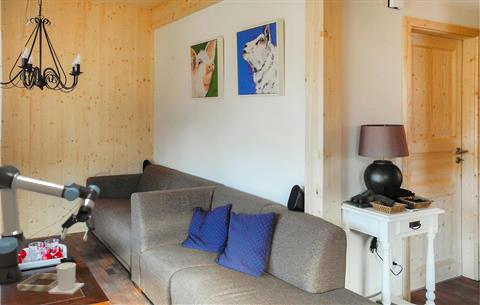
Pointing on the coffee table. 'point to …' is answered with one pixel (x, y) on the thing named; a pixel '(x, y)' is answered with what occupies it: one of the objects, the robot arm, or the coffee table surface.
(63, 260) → the controller
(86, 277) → the coffee table surface
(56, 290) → the coaster
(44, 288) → the birch frame
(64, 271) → the candle holder
